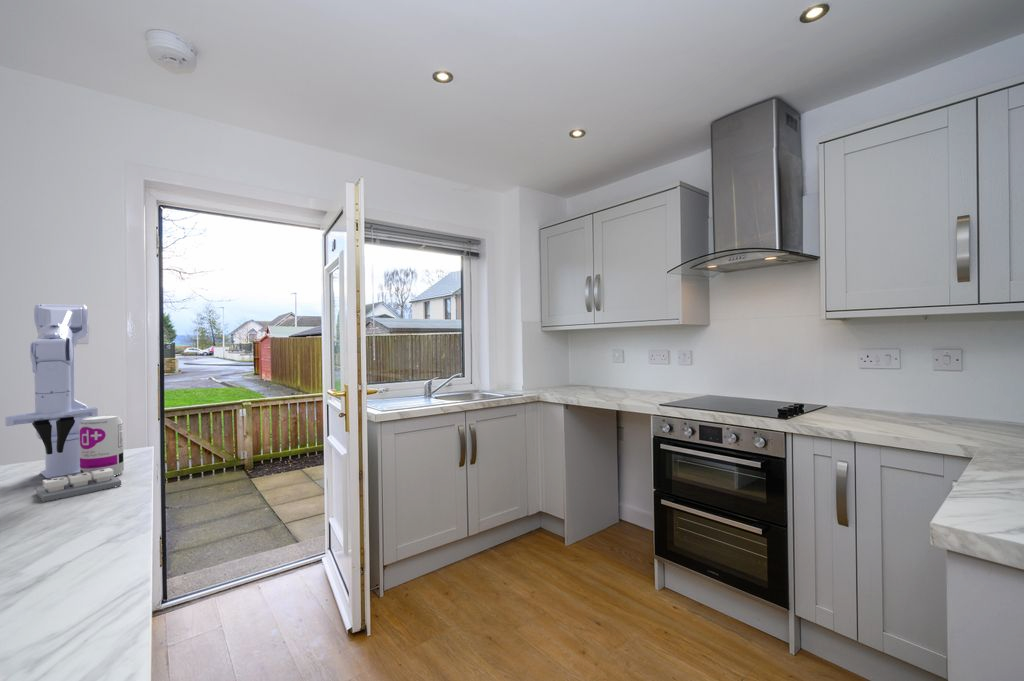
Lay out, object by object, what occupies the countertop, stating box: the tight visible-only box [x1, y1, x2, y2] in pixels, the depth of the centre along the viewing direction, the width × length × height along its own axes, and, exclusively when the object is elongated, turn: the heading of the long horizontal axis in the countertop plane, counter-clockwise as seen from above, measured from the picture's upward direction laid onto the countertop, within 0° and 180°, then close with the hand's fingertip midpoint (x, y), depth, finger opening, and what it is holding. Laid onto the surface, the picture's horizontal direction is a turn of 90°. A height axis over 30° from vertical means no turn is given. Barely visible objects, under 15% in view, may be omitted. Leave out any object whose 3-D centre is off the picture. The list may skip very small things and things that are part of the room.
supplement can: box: [79, 414, 125, 478], centre depth 117 cm, size 8×8×15 cm
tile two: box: [66, 472, 91, 487], centre depth 106 cm, size 4×4×2 cm
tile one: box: [91, 468, 114, 483], centre depth 109 cm, size 4×4×2 cm
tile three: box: [42, 475, 68, 492], centre depth 103 cm, size 4×4×2 cm
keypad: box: [35, 476, 122, 503], centre depth 106 cm, size 9×13×1 cm
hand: (54, 452), depth 103 cm, fingers closed
